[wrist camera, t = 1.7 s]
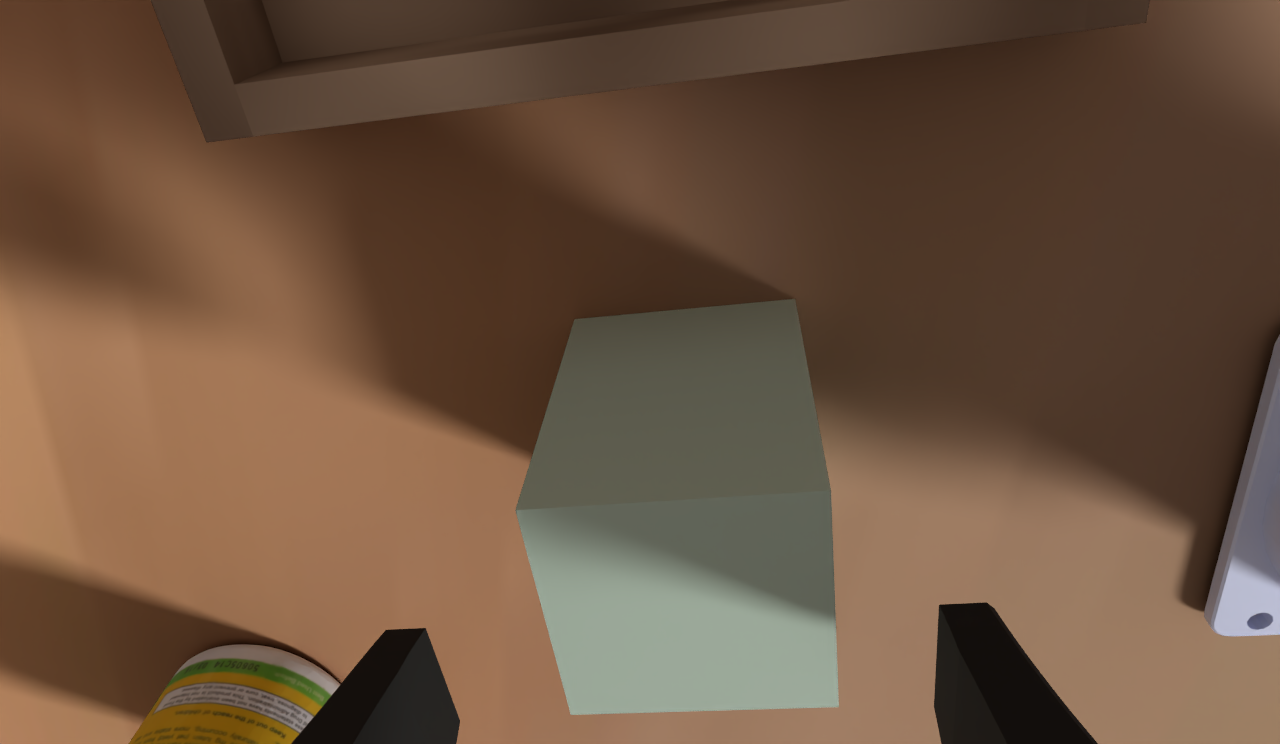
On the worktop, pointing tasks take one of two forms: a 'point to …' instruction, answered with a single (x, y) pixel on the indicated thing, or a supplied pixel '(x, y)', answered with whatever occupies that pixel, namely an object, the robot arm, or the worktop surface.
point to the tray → (544, 48)
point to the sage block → (685, 515)
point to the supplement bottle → (237, 698)
